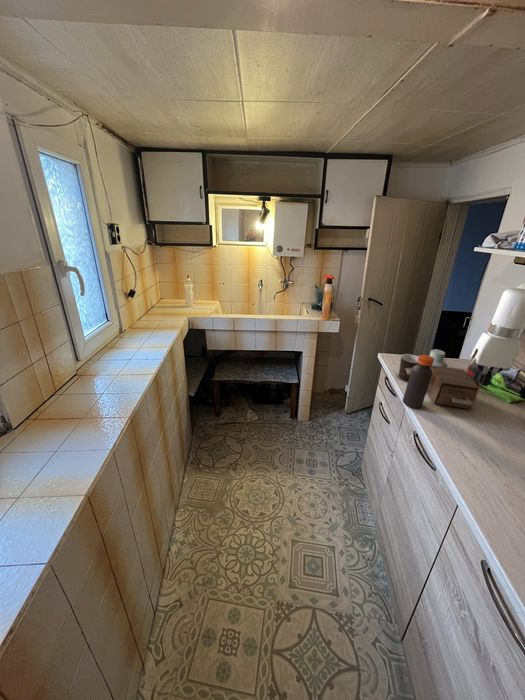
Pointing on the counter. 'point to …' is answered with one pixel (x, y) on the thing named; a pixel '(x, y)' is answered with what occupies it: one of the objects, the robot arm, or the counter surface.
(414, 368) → the bottle
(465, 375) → the cabinet
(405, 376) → the coffee mug
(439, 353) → the air freshener
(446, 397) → the drawer
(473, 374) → the deodorant
